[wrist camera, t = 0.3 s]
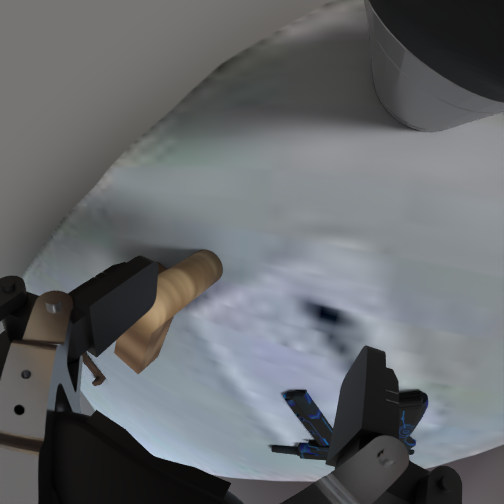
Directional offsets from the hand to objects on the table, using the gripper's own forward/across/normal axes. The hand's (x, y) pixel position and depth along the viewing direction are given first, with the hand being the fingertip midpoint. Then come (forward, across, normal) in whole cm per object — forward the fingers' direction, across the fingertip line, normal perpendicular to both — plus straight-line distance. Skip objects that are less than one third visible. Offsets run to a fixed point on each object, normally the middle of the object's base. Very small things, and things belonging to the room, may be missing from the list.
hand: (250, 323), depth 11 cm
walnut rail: (+20, +16, +22) cm, 34 cm away
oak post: (+20, +10, +11) cm, 25 cm away
